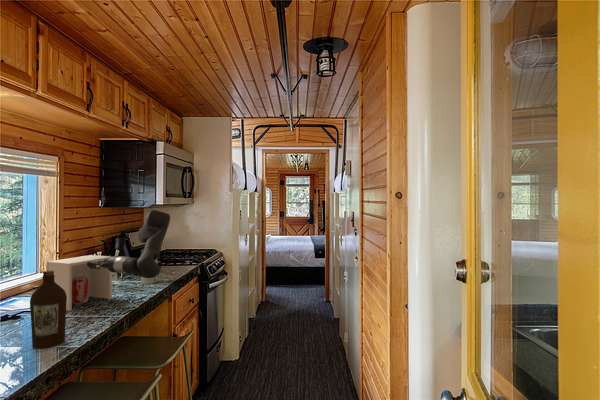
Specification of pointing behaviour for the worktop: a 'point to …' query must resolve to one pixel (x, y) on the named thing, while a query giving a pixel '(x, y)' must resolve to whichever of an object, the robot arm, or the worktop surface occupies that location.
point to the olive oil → (48, 313)
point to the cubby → (78, 268)
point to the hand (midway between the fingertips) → (96, 262)
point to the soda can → (80, 290)
